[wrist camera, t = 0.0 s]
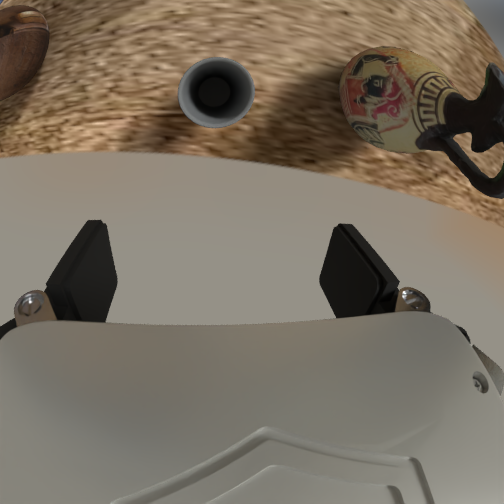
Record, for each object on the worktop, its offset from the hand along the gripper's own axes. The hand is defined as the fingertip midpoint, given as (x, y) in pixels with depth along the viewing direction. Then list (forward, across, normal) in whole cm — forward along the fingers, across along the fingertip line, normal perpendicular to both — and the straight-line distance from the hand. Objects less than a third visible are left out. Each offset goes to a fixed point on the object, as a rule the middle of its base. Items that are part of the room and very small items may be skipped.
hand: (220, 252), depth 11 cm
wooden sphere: (+32, +32, -17) cm, 48 cm away
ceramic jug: (+32, -23, -9) cm, 40 cm away
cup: (+31, 0, -6) cm, 32 cm away
